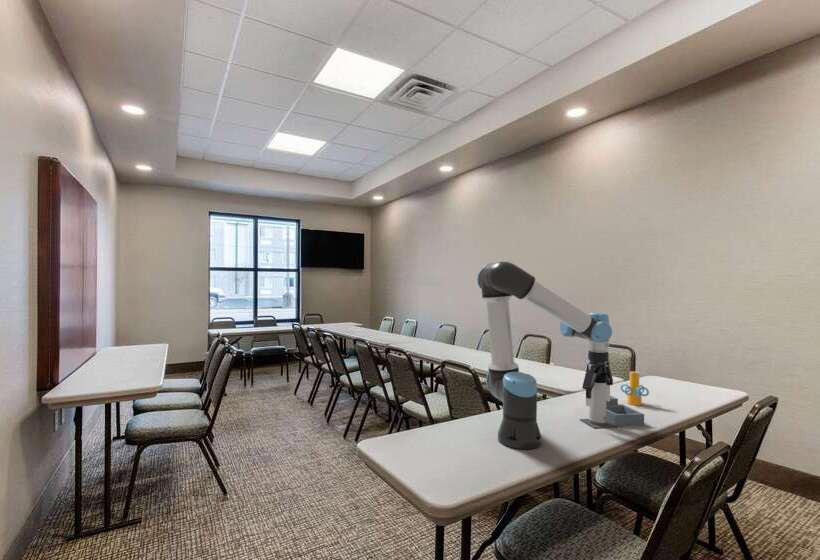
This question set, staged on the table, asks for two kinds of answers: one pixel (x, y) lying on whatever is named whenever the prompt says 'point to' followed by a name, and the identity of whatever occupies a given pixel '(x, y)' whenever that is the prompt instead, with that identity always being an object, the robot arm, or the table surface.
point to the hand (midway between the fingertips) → (598, 403)
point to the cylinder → (634, 390)
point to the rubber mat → (607, 425)
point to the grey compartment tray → (622, 414)
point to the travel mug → (599, 401)
